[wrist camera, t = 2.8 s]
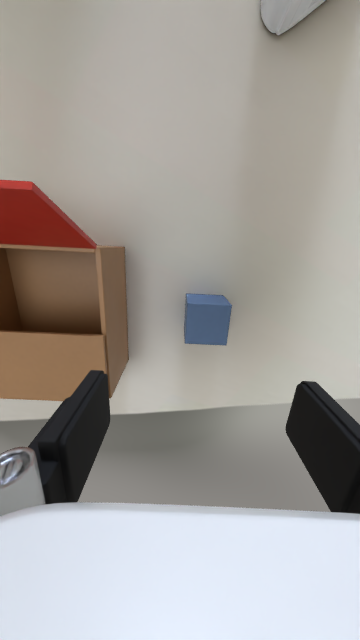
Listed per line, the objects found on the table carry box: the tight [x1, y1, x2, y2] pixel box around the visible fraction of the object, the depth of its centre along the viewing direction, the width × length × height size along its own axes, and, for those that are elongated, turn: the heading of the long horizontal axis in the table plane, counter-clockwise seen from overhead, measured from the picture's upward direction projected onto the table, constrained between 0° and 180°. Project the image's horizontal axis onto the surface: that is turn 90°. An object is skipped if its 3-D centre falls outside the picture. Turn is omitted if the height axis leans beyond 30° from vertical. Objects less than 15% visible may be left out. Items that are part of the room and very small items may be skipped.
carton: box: [0, 244, 129, 401], centre depth 24 cm, size 16×15×9 cm
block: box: [184, 294, 232, 345], centre depth 27 cm, size 5×5×5 cm
